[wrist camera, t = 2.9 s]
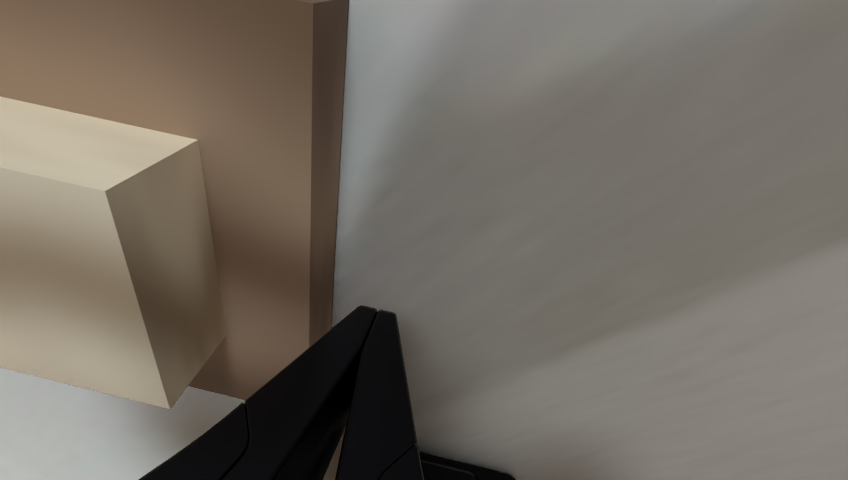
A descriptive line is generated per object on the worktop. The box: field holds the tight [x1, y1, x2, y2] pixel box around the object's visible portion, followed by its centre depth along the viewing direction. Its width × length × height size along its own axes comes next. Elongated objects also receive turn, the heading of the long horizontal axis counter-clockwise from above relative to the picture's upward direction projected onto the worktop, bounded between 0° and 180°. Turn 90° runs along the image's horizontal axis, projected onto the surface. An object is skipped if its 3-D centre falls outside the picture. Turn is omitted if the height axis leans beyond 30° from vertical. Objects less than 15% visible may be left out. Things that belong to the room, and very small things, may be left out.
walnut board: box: [0, 0, 349, 400], centre depth 12 cm, size 12×14×2 cm
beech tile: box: [0, 97, 226, 409], centre depth 10 cm, size 6×8×2 cm
